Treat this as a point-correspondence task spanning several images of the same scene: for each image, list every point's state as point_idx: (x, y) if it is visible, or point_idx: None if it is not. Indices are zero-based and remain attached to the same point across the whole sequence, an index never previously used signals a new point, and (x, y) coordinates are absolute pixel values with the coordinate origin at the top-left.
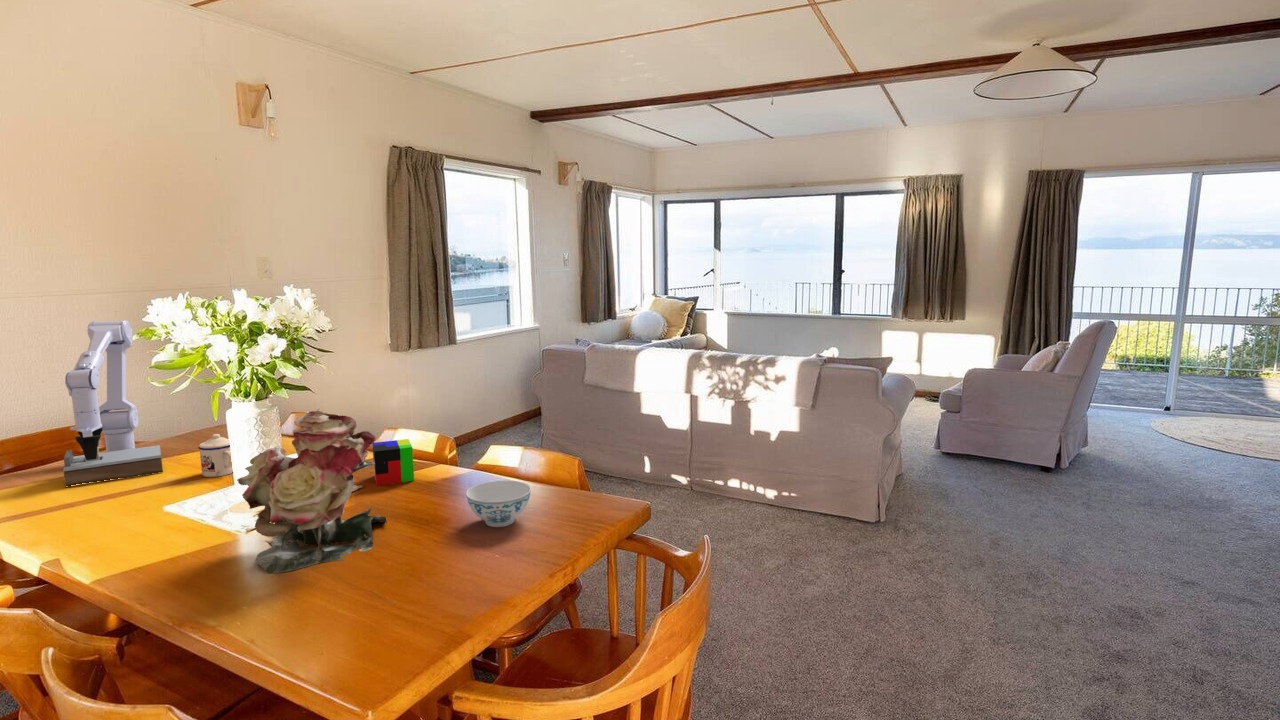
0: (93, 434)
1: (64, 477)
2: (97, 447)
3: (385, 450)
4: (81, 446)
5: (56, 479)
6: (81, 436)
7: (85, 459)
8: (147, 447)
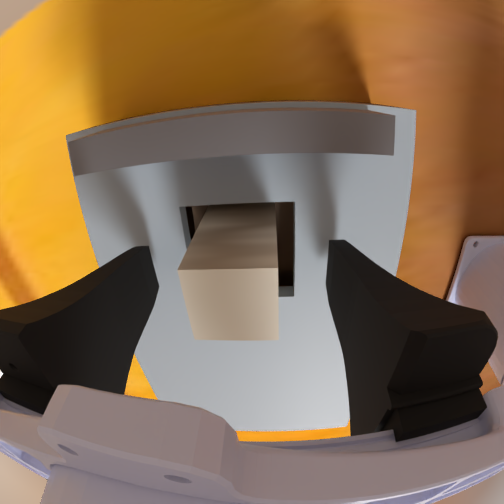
0: (362, 396)
1: (95, 126)
2: (218, 338)
3: (45, 478)
4: (50, 297)
5: (320, 52)
6: (27, 371)
7: (198, 229)
8: (338, 409)
